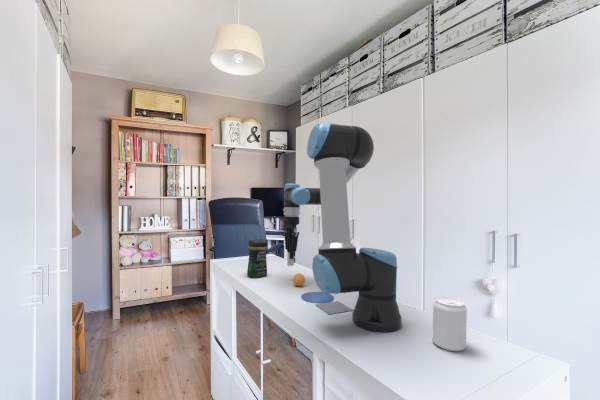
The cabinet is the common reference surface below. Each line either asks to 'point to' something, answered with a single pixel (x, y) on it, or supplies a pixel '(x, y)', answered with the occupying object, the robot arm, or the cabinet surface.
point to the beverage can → (449, 323)
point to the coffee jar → (257, 258)
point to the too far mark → (333, 307)
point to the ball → (298, 279)
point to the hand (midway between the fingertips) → (290, 265)
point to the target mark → (317, 297)
